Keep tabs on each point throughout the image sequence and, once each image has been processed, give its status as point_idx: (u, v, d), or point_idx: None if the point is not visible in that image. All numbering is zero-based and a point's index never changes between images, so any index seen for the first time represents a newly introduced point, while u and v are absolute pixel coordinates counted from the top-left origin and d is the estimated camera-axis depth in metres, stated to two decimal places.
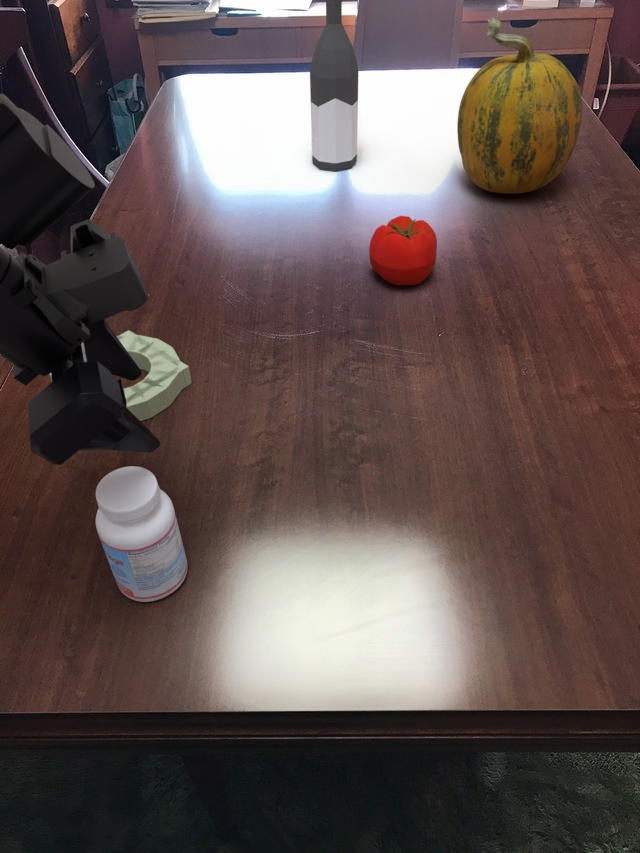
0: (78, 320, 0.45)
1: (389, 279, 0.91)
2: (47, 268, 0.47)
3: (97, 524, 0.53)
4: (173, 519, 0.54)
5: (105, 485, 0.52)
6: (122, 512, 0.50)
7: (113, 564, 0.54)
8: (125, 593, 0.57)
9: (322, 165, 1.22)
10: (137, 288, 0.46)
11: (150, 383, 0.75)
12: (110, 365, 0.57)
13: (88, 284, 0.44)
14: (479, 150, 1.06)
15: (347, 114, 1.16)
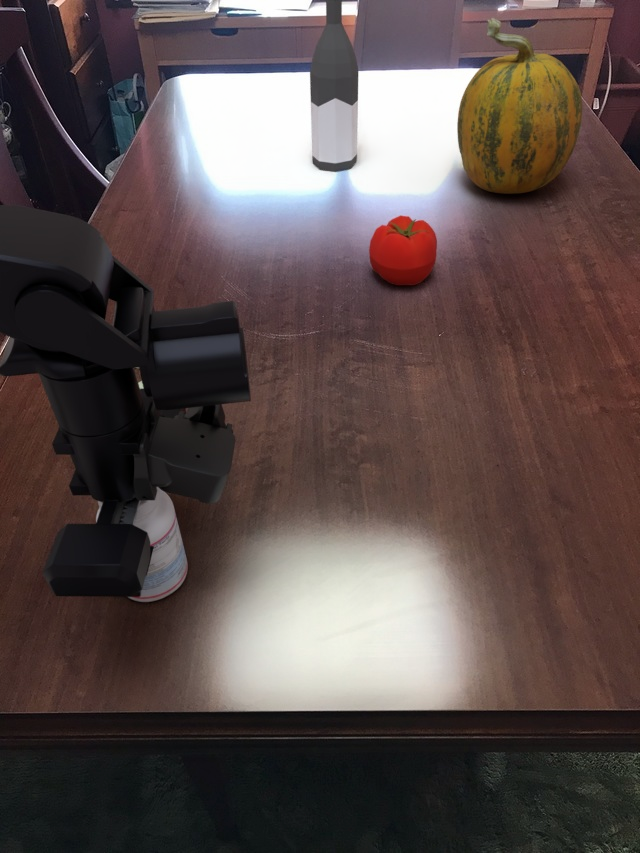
0: (156, 486, 0.47)
1: (389, 279, 0.91)
2: (161, 421, 0.49)
3: None
4: (173, 519, 0.54)
5: None
6: None
7: None
8: None
9: (322, 164, 1.22)
10: (219, 491, 0.49)
11: None
12: None
13: (186, 470, 0.47)
14: (479, 150, 1.06)
15: (347, 114, 1.16)
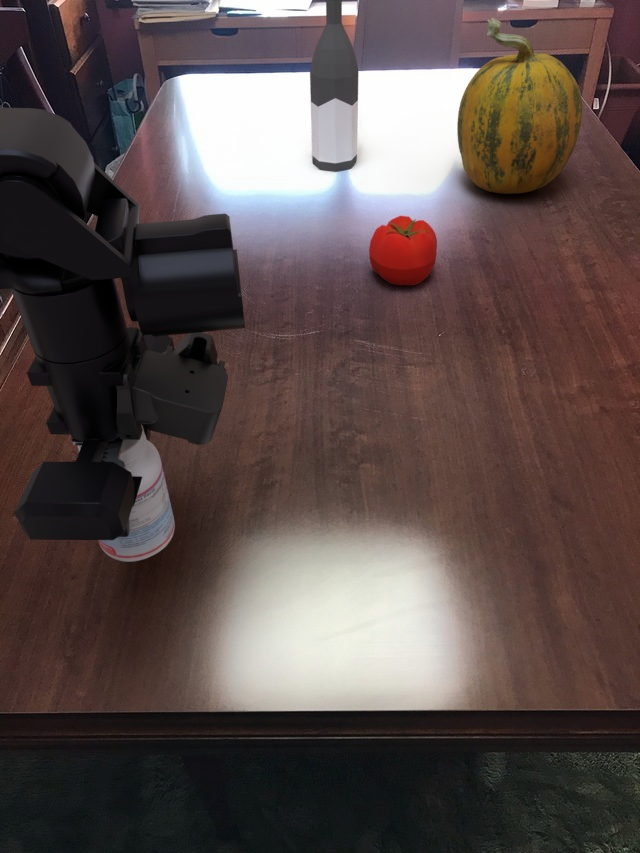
0: (141, 423, 0.44)
1: (389, 279, 0.91)
2: (147, 355, 0.45)
3: None
4: (160, 471, 0.50)
5: None
6: None
7: None
8: (107, 552, 0.53)
9: (322, 164, 1.22)
10: (210, 431, 0.45)
11: None
12: None
13: (173, 404, 0.43)
14: (479, 150, 1.06)
15: (347, 114, 1.16)
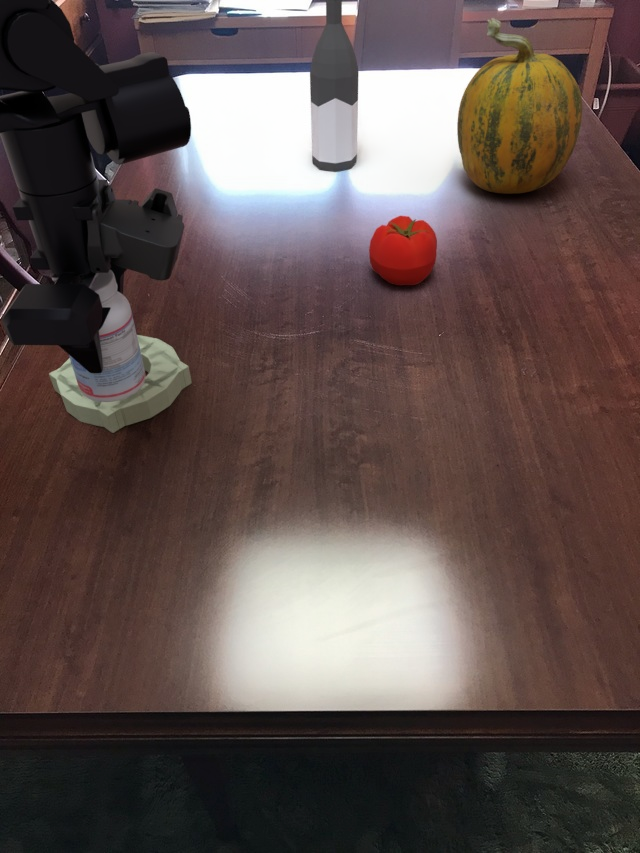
0: (108, 256, 0.52)
1: (389, 279, 0.91)
2: (115, 204, 0.54)
3: None
4: (129, 316, 0.59)
5: None
6: None
7: None
8: (85, 393, 0.62)
9: (322, 164, 1.22)
10: (167, 267, 0.53)
11: (150, 383, 0.75)
12: None
13: (135, 239, 0.51)
14: (479, 150, 1.06)
15: (347, 114, 1.16)
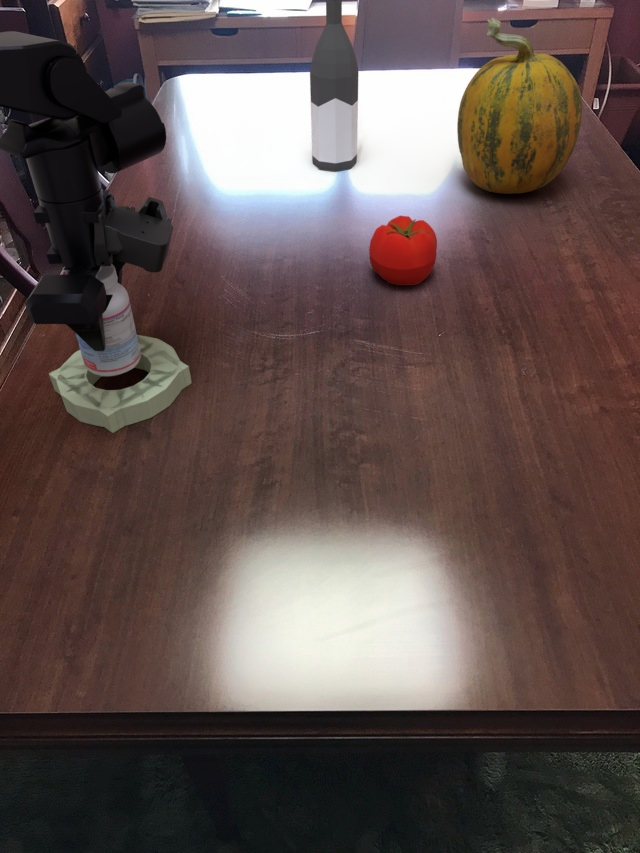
0: (111, 252, 0.64)
1: (389, 279, 0.91)
2: (116, 209, 0.65)
3: None
4: (127, 303, 0.71)
5: None
6: None
7: None
8: (90, 368, 0.73)
9: (322, 164, 1.22)
10: (159, 261, 0.65)
11: (150, 383, 0.75)
12: None
13: (133, 238, 0.63)
14: (479, 150, 1.06)
15: (347, 114, 1.16)
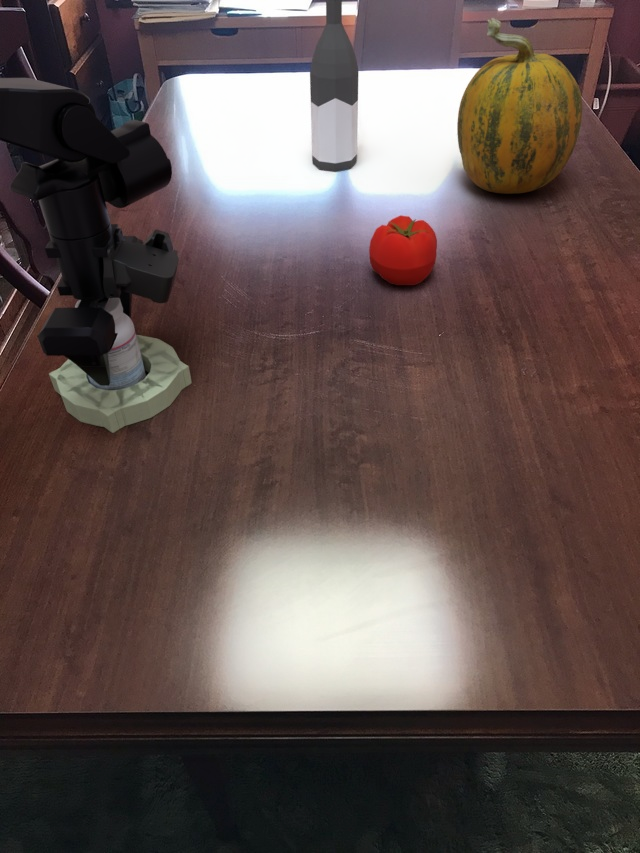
0: (119, 285, 0.66)
1: (389, 279, 0.91)
2: (124, 243, 0.68)
3: None
4: (133, 332, 0.73)
5: None
6: None
7: None
8: None
9: (322, 164, 1.22)
10: (166, 292, 0.67)
11: (150, 383, 0.75)
12: None
13: (140, 271, 0.66)
14: (479, 149, 1.06)
15: (347, 114, 1.16)
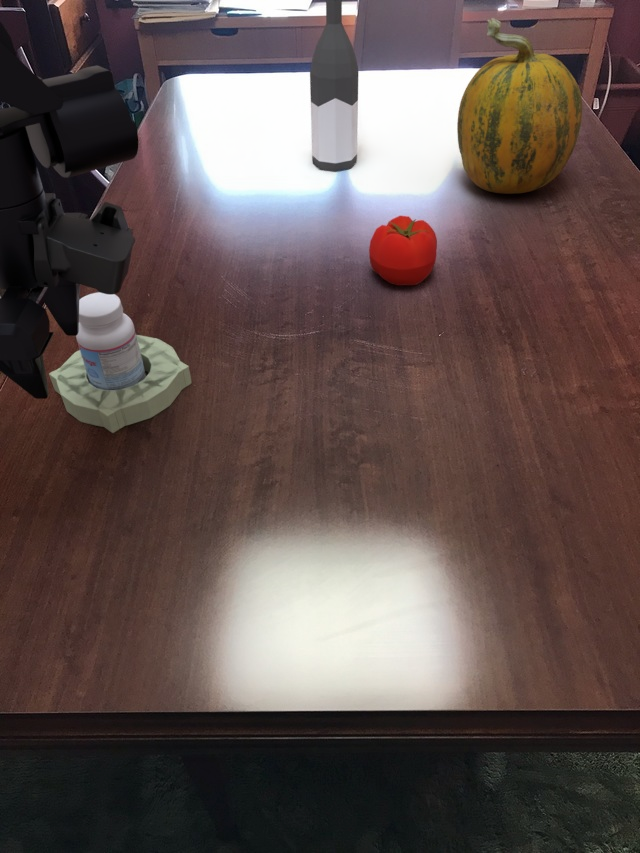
0: (55, 270, 0.52)
1: (389, 279, 0.91)
2: (63, 217, 0.53)
3: None
4: (133, 333, 0.73)
5: (82, 302, 0.71)
6: (94, 317, 0.69)
7: (89, 367, 0.73)
8: None
9: (322, 164, 1.22)
10: (116, 281, 0.53)
11: (150, 383, 0.75)
12: (58, 312, 0.63)
13: (82, 253, 0.51)
14: (479, 150, 1.06)
15: (347, 114, 1.16)
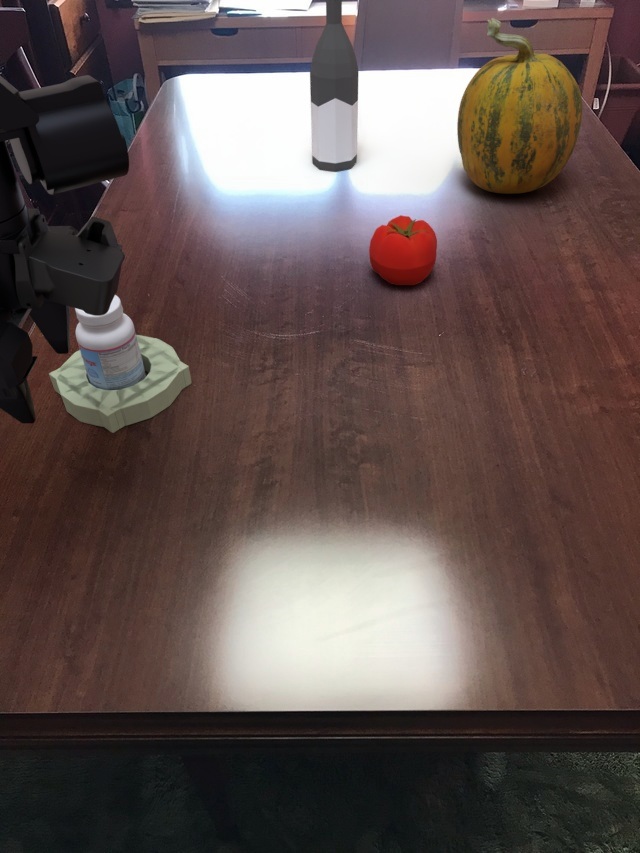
0: (39, 291, 0.49)
1: (389, 279, 0.91)
2: (47, 234, 0.50)
3: (76, 333, 0.72)
4: (133, 333, 0.73)
5: None
6: (94, 317, 0.69)
7: (89, 367, 0.73)
8: None
9: (322, 164, 1.22)
10: (103, 301, 0.50)
11: (150, 383, 0.75)
12: (47, 330, 0.60)
13: (66, 273, 0.48)
14: (479, 150, 1.06)
15: (347, 114, 1.16)
